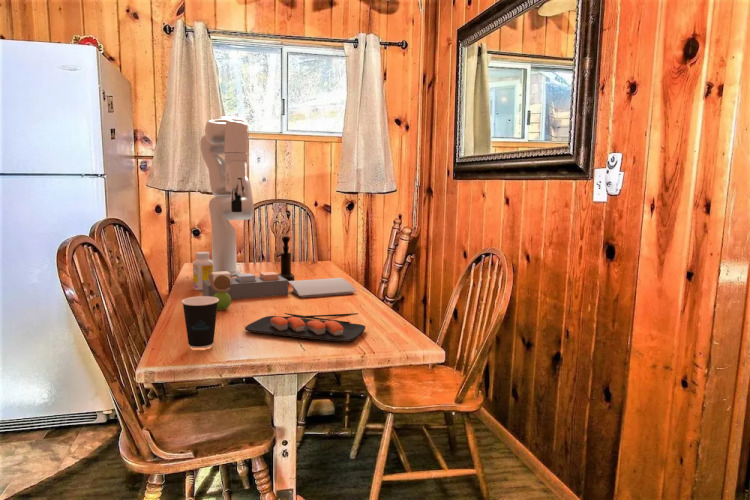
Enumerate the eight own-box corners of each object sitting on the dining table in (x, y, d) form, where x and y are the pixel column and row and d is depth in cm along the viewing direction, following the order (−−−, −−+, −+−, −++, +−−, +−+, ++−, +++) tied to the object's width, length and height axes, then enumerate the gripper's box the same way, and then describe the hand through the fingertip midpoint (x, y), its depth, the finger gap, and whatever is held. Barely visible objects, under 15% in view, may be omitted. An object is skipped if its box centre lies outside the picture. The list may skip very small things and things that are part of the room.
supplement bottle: (216, 287, 179) (216, 251, 178) (208, 291, 173) (208, 254, 171) (198, 286, 180) (197, 251, 178) (190, 290, 173) (189, 253, 172)
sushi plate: (240, 336, 125) (239, 321, 124) (291, 308, 154) (291, 296, 153) (351, 348, 117) (351, 332, 117) (383, 317, 146) (383, 304, 146)
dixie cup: (205, 339, 120) (205, 294, 118) (226, 346, 115) (226, 299, 114) (175, 347, 113) (174, 300, 112) (196, 355, 109) (195, 305, 107)
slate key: (236, 285, 169) (236, 274, 169) (251, 284, 172) (251, 273, 171) (240, 288, 165) (240, 276, 164) (255, 287, 167) (255, 275, 167)
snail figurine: (209, 308, 150) (208, 268, 148) (231, 307, 152) (231, 267, 150) (207, 312, 145) (207, 271, 143) (231, 311, 146) (230, 271, 145)
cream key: (211, 284, 165) (211, 272, 165) (227, 282, 168) (227, 271, 167) (215, 286, 161) (214, 274, 160) (230, 285, 163) (230, 273, 163)
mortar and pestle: (282, 279, 198) (282, 233, 196) (297, 280, 196) (297, 234, 194) (274, 282, 192) (274, 235, 190) (289, 283, 190) (289, 236, 187)
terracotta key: (260, 284, 173) (260, 272, 173) (274, 283, 175) (274, 271, 175) (264, 286, 169) (264, 275, 168) (278, 285, 171) (278, 274, 171)
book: (282, 291, 178) (282, 280, 178) (342, 287, 188) (342, 276, 188) (295, 300, 164) (295, 288, 164) (359, 295, 175) (359, 284, 174)
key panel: (202, 295, 167) (202, 280, 166) (278, 289, 179) (278, 275, 179) (208, 301, 158) (208, 285, 157) (288, 294, 171) (288, 280, 170)
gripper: (220, 158, 178) (221, 210, 180) (230, 157, 165) (230, 213, 167) (241, 159, 182) (242, 210, 184) (252, 158, 169) (253, 213, 171)
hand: (236, 211), depth 176 cm, fingers closed
